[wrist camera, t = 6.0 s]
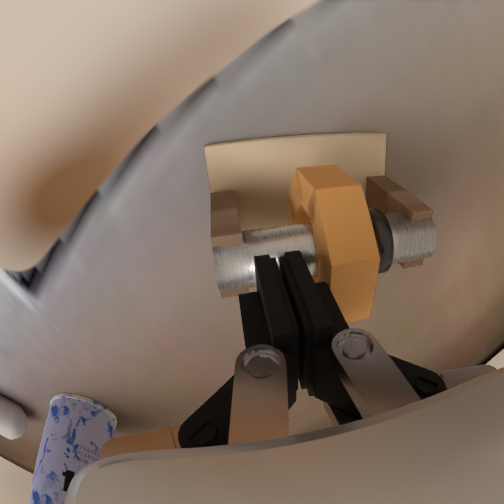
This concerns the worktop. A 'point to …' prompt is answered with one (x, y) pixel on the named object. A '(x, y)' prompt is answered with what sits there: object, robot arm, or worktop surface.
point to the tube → (11, 419)
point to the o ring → (338, 235)
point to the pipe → (302, 238)
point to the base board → (281, 175)
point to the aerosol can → (69, 444)
